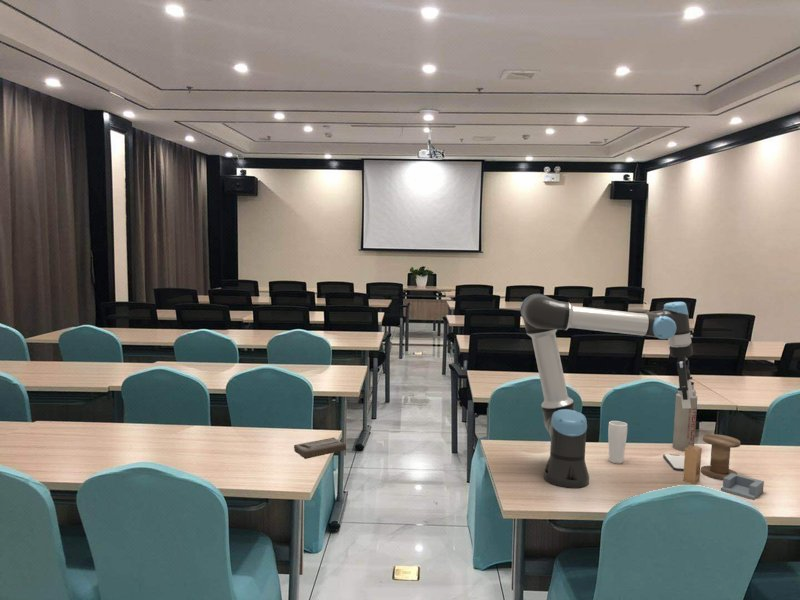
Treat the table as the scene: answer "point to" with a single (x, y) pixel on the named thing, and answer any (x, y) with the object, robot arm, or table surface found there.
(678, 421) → the thermos bottle
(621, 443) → the drinking glass
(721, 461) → the bobbin
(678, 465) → the smartphone
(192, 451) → the table surface
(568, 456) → the robot arm
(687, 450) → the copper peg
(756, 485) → the grey slotted holder
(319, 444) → the box
